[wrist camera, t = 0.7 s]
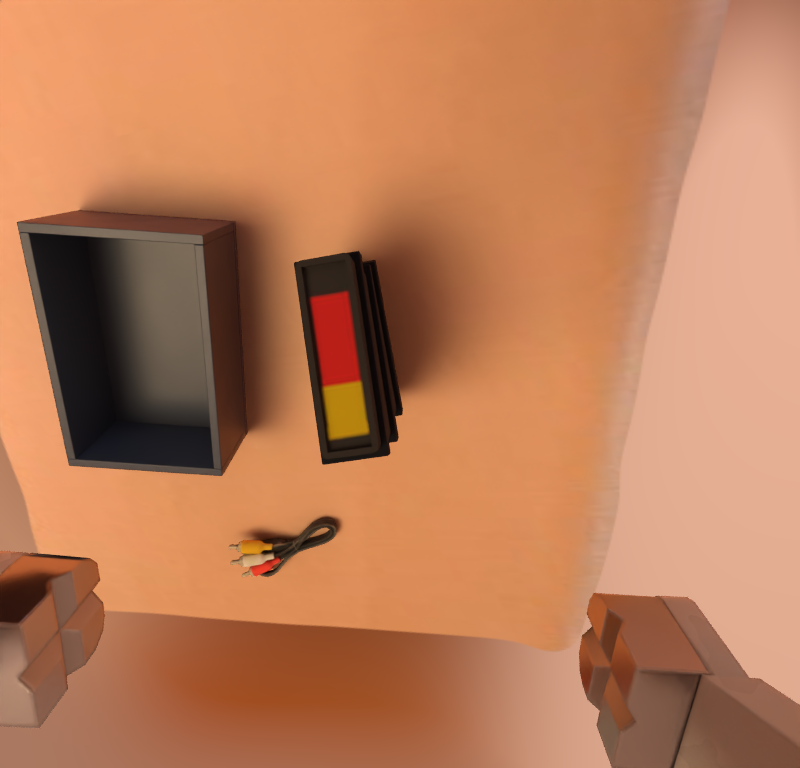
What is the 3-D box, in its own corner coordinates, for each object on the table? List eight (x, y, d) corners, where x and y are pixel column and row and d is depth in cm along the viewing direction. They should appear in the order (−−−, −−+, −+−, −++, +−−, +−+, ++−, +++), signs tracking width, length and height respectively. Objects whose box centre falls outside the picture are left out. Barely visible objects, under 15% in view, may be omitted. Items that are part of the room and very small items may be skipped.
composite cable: (332, 512, 48) (328, 530, 46) (348, 553, 50) (345, 572, 48) (231, 534, 50) (222, 552, 47) (250, 573, 52) (242, 592, 49)
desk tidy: (78, 210, 38) (16, 221, 32) (235, 221, 38) (202, 234, 32) (114, 424, 45) (68, 466, 39) (247, 433, 45) (222, 476, 39)
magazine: (363, 444, 44) (316, 467, 29) (340, 283, 44) (282, 224, 29) (409, 437, 43) (386, 457, 28) (385, 275, 44) (350, 212, 29)
